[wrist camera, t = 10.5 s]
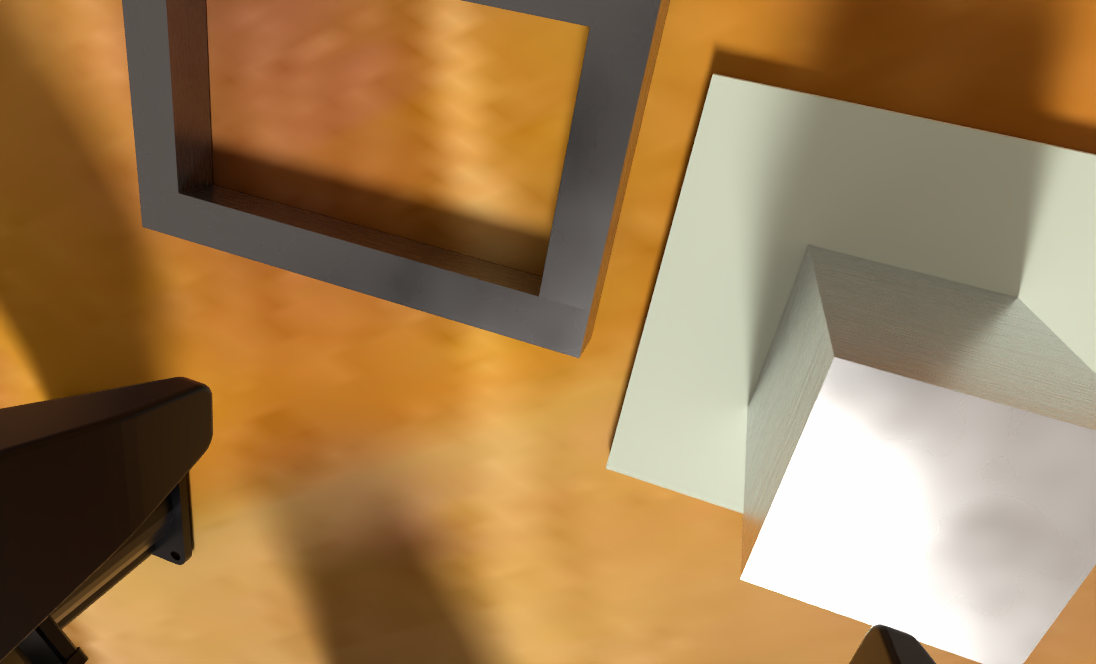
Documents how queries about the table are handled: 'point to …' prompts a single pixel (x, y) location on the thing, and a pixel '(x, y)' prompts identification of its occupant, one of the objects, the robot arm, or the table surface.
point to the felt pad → (840, 225)
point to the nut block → (920, 459)
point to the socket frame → (380, 258)
